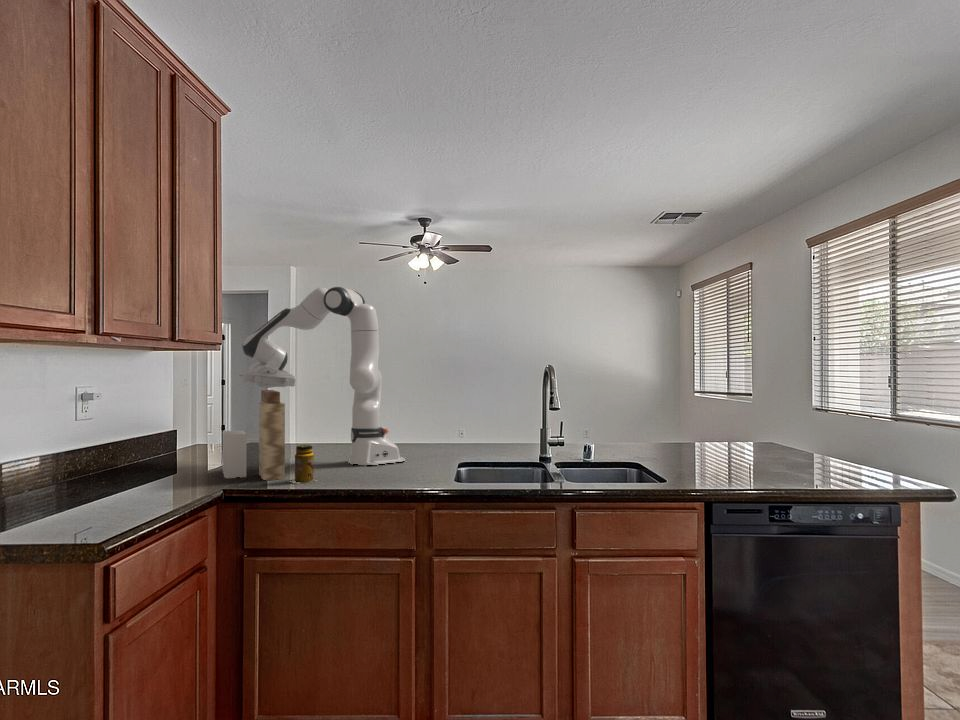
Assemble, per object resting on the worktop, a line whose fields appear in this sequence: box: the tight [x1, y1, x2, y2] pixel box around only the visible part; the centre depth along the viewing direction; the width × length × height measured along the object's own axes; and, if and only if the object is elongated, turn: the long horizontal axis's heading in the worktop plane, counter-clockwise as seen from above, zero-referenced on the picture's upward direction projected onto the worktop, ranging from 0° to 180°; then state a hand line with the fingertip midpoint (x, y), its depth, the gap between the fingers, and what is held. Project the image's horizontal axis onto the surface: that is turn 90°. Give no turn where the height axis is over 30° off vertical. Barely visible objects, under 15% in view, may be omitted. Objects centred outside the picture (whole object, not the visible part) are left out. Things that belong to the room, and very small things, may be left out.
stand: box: [258, 401, 286, 481], centre depth 211 cm, size 7×13×26 cm, turn 26°
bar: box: [260, 389, 281, 404], centre depth 215 cm, size 4×20×4 cm, turn 26°
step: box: [222, 429, 248, 479], centre depth 216 cm, size 7×15×15 cm, turn 26°
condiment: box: [286, 444, 318, 485], centre depth 202 cm, size 7×8×12 cm
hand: (273, 381), depth 230 cm, fingers open, 8 cm apart
